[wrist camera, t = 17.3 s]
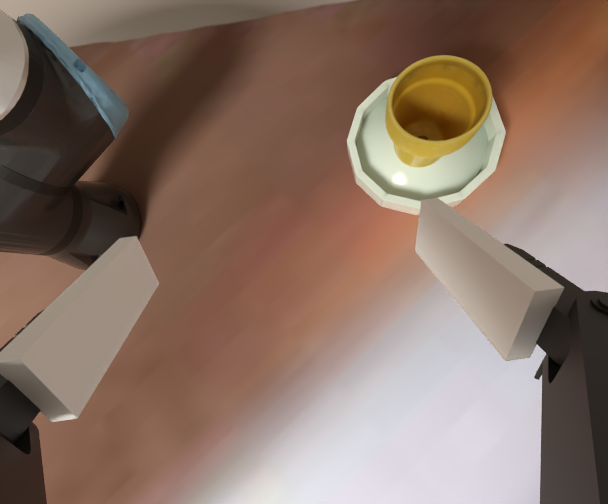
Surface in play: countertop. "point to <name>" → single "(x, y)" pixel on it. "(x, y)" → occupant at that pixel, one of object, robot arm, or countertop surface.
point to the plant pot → (436, 108)
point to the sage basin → (411, 180)
